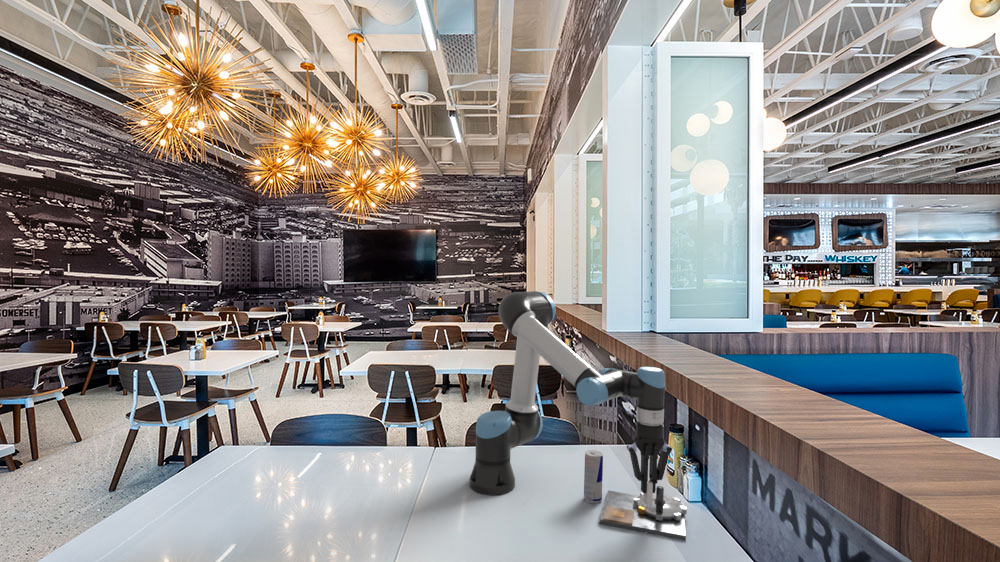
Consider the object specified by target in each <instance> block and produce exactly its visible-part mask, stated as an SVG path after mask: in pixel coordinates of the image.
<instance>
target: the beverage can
mask: <svg viewBox="0 0 1000 562" xmlns="http://www.w3.org/2000/svg"><path fill="white" fill-rule="evenodd" d="M603 465H604V454H603V452H602V451H598V450H596V449H588V450H585V452H584V471H583V472H584V473H583V475H584V477H583V478H584V479H583V499H584V500H585V501H586V502H588V503H591V504H599V503H600V502H601V501H602V500H603V475H604V474H603V472H604V471H603V470H604V468H603V467H604V466H603Z"/></svg>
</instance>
